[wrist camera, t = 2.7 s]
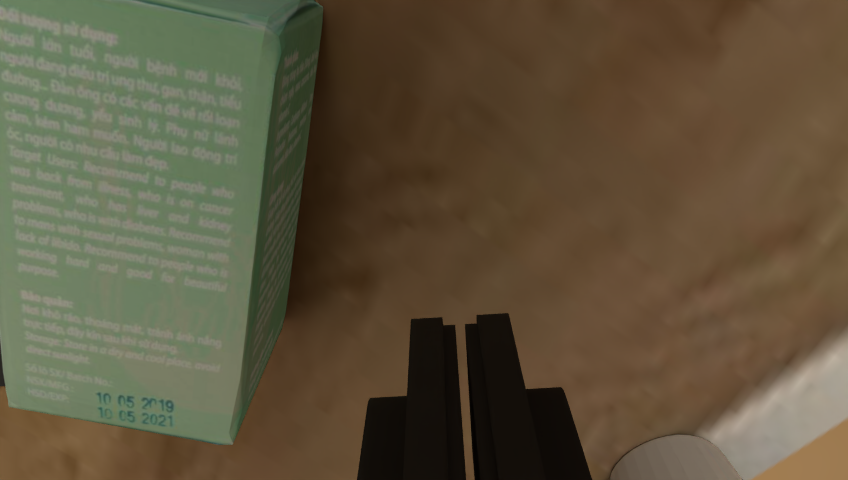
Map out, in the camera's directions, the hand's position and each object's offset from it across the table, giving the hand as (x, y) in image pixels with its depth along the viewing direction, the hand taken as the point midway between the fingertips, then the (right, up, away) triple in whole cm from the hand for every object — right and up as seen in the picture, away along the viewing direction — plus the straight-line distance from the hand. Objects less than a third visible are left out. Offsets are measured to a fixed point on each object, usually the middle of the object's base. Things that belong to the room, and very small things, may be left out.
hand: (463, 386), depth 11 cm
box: (-9, +6, +12) cm, 16 cm away
